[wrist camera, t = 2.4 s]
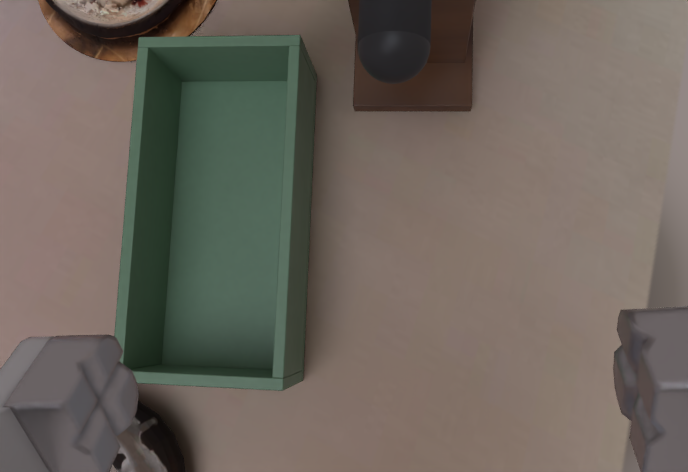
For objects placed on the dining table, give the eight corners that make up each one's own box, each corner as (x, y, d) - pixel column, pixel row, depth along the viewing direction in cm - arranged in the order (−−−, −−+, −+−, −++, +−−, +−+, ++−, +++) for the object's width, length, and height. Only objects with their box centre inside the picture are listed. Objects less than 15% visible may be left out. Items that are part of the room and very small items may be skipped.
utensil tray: (303, 380, 44) (282, 391, 37) (154, 373, 45) (110, 381, 39) (317, 74, 47) (300, 34, 40) (176, 75, 48) (138, 36, 41)
